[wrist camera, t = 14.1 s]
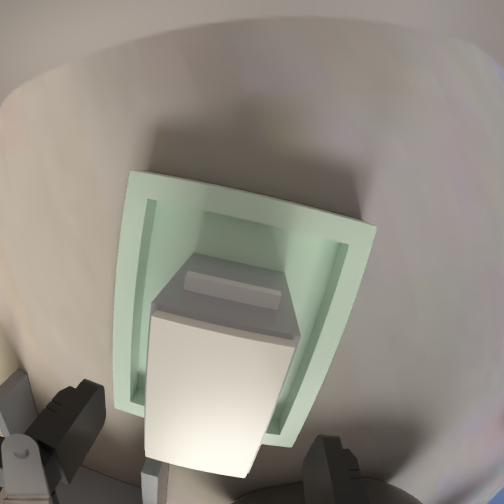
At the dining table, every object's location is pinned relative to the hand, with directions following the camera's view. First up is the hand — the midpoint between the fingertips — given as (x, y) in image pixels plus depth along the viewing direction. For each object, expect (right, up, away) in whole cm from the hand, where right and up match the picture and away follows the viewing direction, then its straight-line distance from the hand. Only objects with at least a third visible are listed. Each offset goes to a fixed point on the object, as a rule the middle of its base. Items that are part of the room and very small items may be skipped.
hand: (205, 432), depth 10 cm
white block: (0, +2, +8) cm, 8 cm away
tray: (0, +2, +9) cm, 9 cm away
